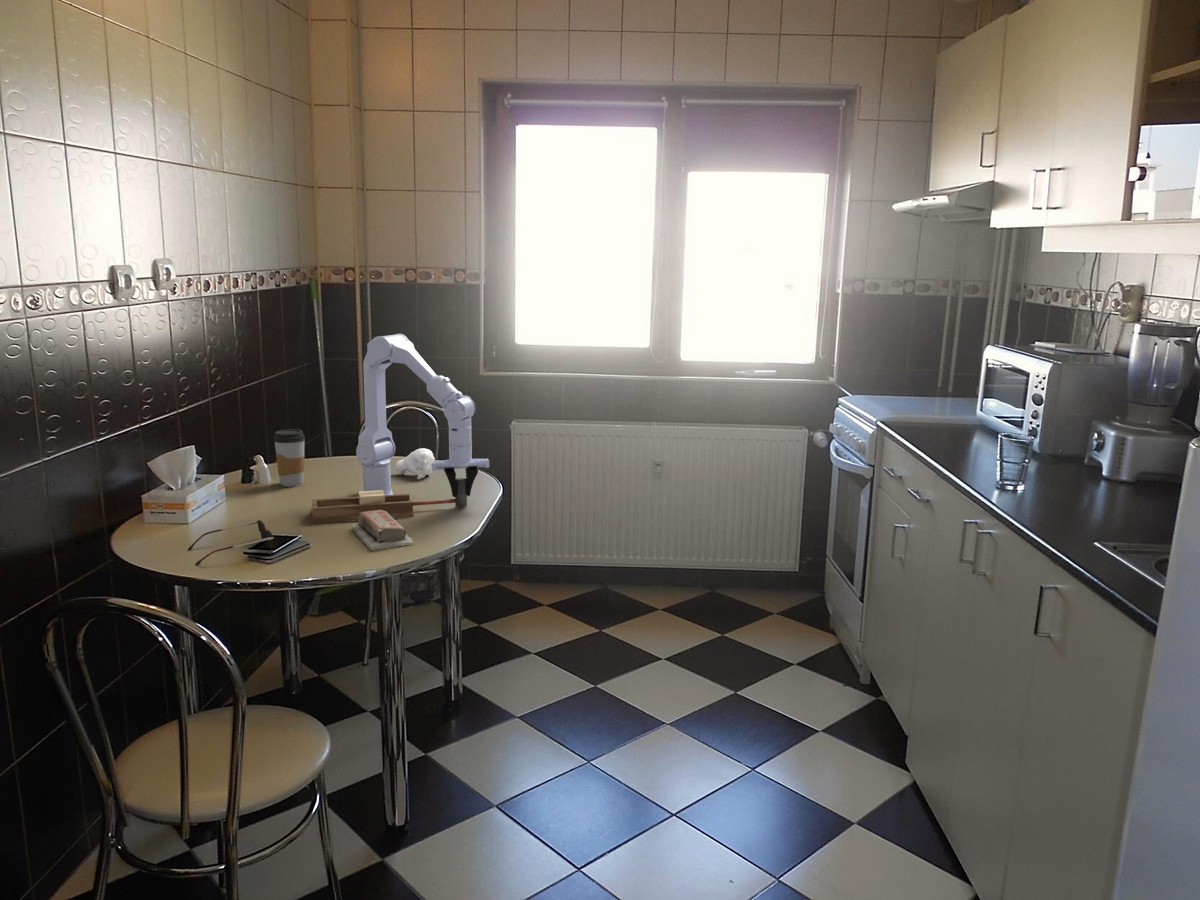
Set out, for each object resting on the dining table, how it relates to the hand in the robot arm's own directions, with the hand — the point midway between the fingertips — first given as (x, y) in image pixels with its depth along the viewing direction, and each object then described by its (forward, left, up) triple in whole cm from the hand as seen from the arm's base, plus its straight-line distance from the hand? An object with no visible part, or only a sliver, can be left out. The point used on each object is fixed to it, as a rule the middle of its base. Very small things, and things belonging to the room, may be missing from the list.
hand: (461, 495), depth 233 cm
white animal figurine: (-36, -8, -3) cm, 37 cm away
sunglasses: (+21, -54, -4) cm, 59 cm away
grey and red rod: (0, -12, -3) cm, 12 cm away
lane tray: (0, -25, -3) cm, 25 cm away
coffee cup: (-35, -42, -3) cm, 55 cm away
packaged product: (+19, -22, -4) cm, 29 cm away
